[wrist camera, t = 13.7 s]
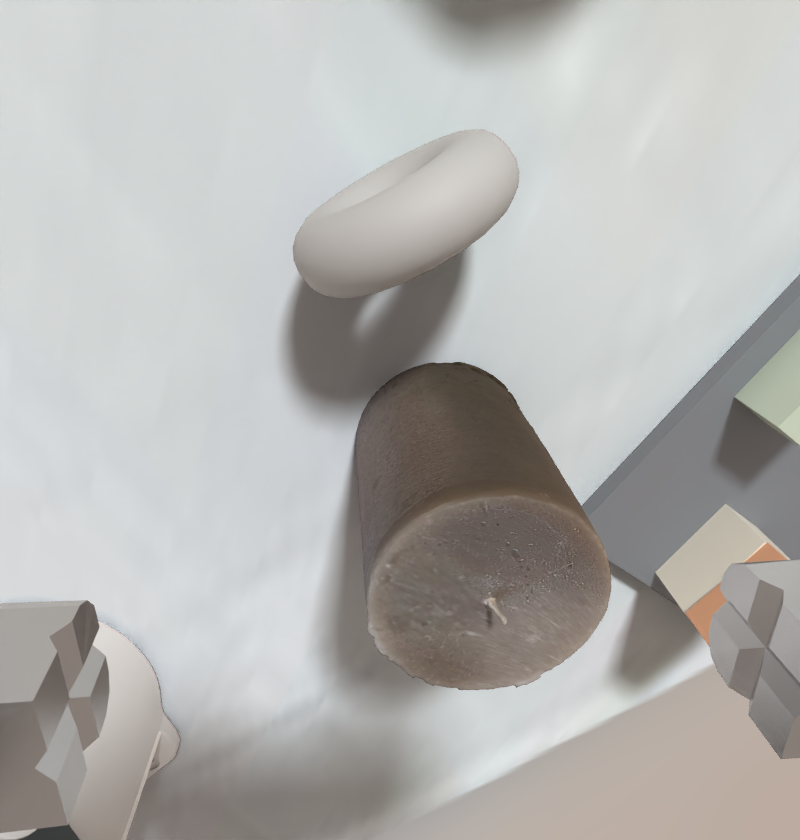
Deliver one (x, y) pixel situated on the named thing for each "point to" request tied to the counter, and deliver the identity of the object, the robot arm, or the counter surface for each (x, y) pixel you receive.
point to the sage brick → (777, 391)
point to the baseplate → (706, 463)
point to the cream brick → (710, 556)
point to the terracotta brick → (715, 598)
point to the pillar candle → (470, 535)
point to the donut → (407, 215)
